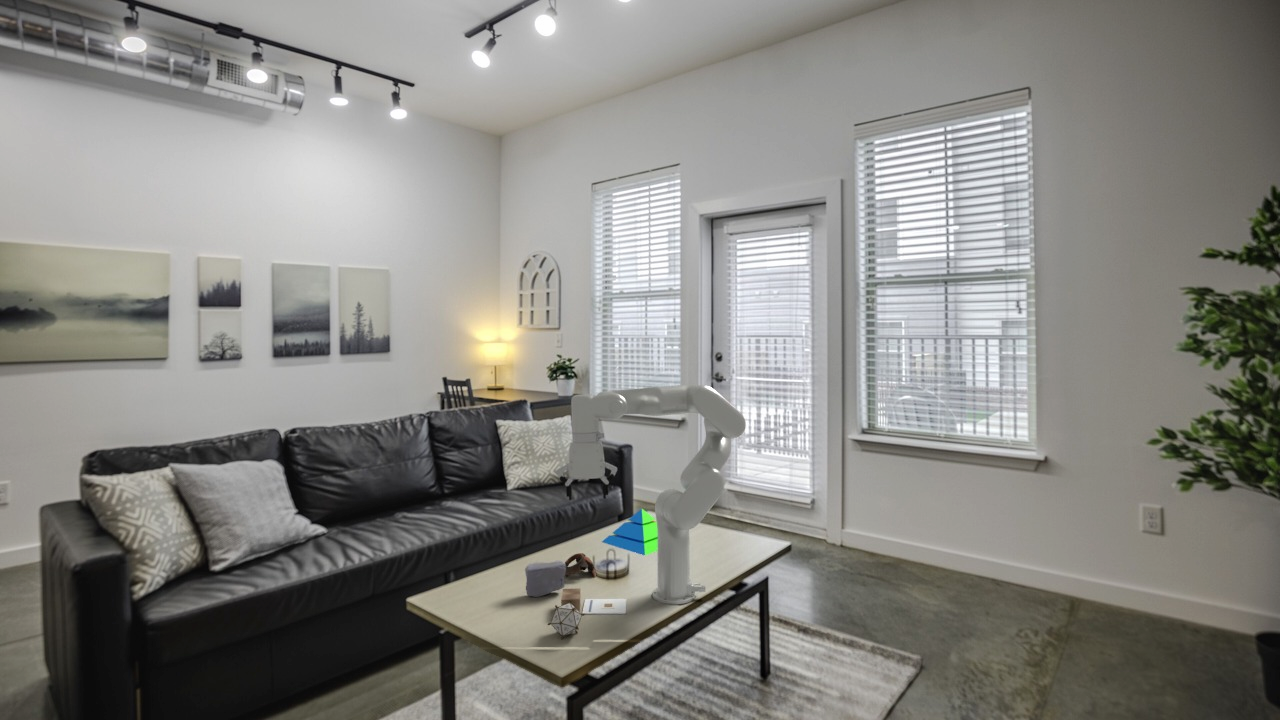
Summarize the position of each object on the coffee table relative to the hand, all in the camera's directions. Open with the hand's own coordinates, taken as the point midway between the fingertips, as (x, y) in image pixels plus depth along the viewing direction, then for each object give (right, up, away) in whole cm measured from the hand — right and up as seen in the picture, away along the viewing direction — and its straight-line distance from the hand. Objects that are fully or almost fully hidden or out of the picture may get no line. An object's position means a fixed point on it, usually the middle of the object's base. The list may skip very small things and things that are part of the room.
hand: (587, 498), depth 177 cm
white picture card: (+5, -31, +1) cm, 31 cm away
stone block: (-13, -31, +9) cm, 35 cm away
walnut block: (-5, -29, +2) cm, 29 cm away
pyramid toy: (+16, -32, +60) cm, 69 cm away
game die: (-3, -28, -12) cm, 31 cm away
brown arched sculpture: (-3, -32, +27) cm, 42 cm away
